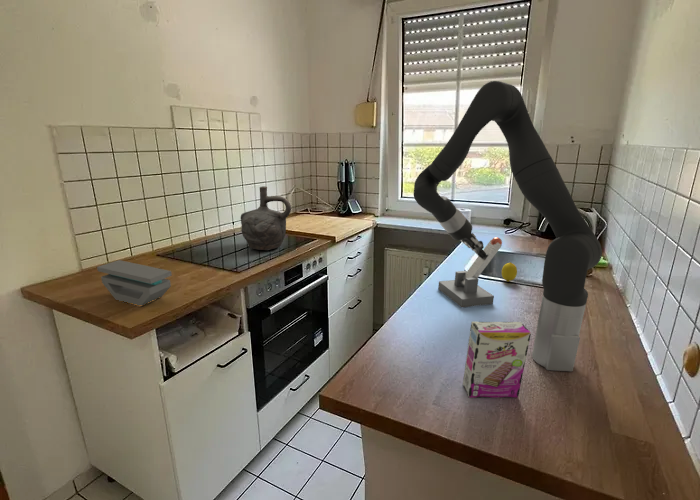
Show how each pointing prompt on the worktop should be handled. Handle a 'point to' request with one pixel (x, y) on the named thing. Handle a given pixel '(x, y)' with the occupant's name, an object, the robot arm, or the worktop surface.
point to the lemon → (509, 271)
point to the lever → (483, 260)
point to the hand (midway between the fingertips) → (483, 255)
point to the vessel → (265, 223)
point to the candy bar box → (495, 359)
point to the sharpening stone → (134, 281)
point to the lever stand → (465, 291)
